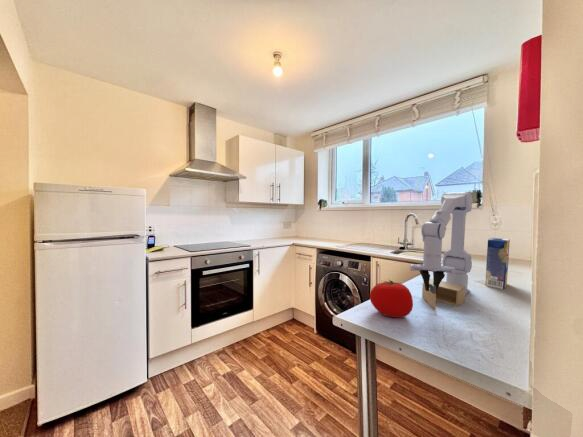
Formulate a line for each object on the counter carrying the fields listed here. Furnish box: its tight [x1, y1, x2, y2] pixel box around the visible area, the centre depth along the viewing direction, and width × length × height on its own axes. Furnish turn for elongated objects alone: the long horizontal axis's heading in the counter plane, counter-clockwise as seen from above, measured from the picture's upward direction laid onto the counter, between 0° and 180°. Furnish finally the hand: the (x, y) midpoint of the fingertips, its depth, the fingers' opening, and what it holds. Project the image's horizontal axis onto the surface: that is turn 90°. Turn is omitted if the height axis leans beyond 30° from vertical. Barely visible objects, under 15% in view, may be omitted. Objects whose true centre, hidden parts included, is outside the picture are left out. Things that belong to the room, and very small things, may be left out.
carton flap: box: [421, 282, 437, 310], centre depth 94 cm, size 1×12×8 cm, turn 171°
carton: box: [422, 278, 466, 307], centre depth 98 cm, size 8×13×6 cm, turn 38°
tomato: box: [369, 279, 414, 318], centre depth 84 cm, size 12×14×11 cm
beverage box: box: [484, 237, 511, 290], centre depth 115 cm, size 7×11×22 cm, turn 133°
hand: (430, 290), depth 89 cm, fingers closed
